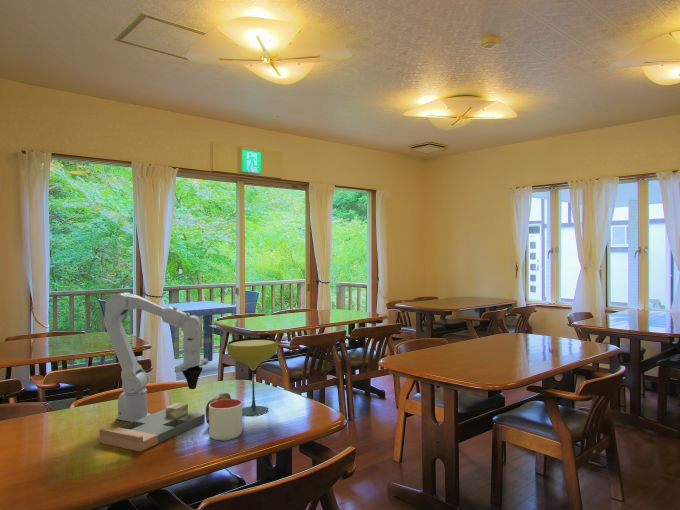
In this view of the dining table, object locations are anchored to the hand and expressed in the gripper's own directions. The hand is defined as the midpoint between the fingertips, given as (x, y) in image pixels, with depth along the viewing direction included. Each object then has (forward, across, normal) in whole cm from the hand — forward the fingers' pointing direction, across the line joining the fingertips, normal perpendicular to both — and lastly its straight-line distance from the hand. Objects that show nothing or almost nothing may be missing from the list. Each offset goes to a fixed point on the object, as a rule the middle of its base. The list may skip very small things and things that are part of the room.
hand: (192, 388), depth 166 cm
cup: (+10, -11, -24) cm, 28 cm away
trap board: (+9, -17, 0) cm, 19 cm away
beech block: (+7, -8, 0) cm, 10 cm away
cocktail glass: (+10, +12, -18) cm, 23 cm away
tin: (+10, -1, -12) cm, 16 cm away
